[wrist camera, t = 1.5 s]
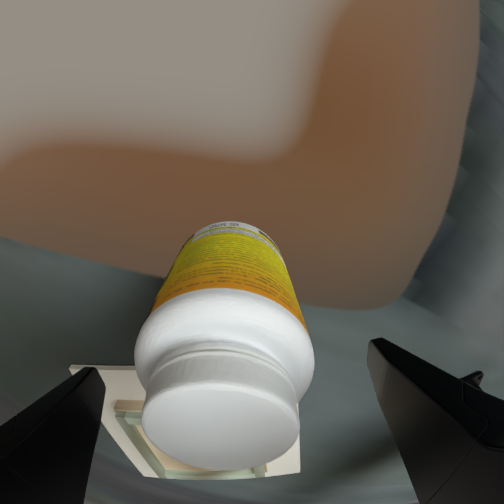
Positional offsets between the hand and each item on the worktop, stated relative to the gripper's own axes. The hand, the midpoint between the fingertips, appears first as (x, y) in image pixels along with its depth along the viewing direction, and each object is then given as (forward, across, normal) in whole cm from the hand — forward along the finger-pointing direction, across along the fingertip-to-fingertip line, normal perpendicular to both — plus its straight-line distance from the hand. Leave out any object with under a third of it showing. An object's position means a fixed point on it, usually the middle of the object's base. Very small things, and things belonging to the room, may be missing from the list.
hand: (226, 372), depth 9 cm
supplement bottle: (+8, 0, 0) cm, 8 cm away
